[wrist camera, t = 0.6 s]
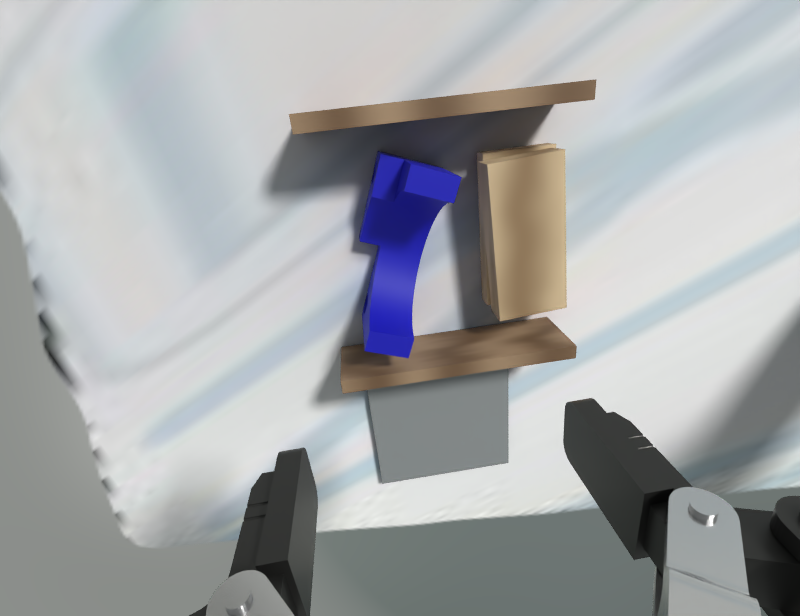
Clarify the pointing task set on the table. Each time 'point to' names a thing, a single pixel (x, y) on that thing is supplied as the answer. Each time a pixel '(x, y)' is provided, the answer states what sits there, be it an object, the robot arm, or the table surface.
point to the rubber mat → (441, 425)
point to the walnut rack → (465, 346)
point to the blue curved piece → (399, 244)
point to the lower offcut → (481, 157)
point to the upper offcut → (525, 232)
